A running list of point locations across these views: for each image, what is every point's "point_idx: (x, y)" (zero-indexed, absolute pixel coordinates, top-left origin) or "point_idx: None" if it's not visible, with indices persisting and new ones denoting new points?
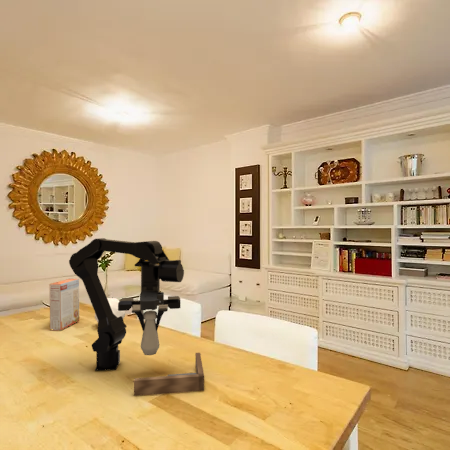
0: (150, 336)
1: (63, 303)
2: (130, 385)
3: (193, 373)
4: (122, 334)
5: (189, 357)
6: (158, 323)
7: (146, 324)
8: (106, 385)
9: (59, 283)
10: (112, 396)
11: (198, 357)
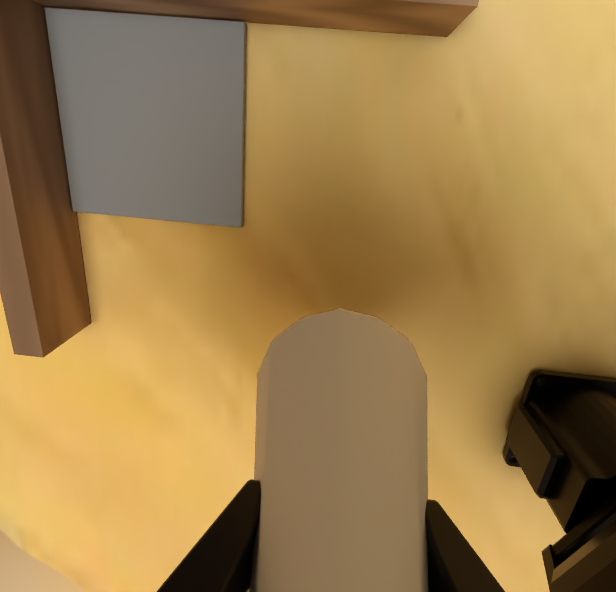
0: (338, 395)
1: None
2: (463, 153)
3: (88, 204)
4: (601, 589)
5: (130, 416)
6: (194, 560)
7: (407, 576)
8: (606, 189)
9: None
10: (590, 19)
11: (13, 280)
